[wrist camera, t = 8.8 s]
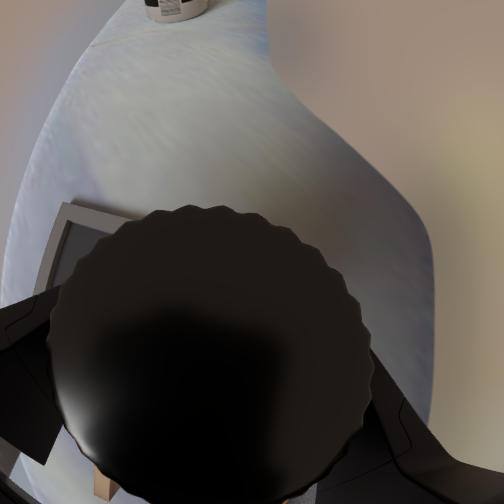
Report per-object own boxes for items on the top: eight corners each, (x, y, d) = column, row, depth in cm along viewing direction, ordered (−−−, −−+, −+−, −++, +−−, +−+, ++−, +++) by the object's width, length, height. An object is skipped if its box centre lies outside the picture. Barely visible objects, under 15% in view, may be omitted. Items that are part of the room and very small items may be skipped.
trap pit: (133, 370, 15) (128, 372, 15) (34, 319, 16) (27, 319, 15) (171, 232, 18) (168, 229, 17) (68, 205, 18) (62, 201, 17)
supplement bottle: (168, 389, 14) (37, 502, 2) (167, 271, 15) (27, 160, 4) (290, 390, 14) (400, 522, 2) (288, 271, 16) (403, 149, 4)
